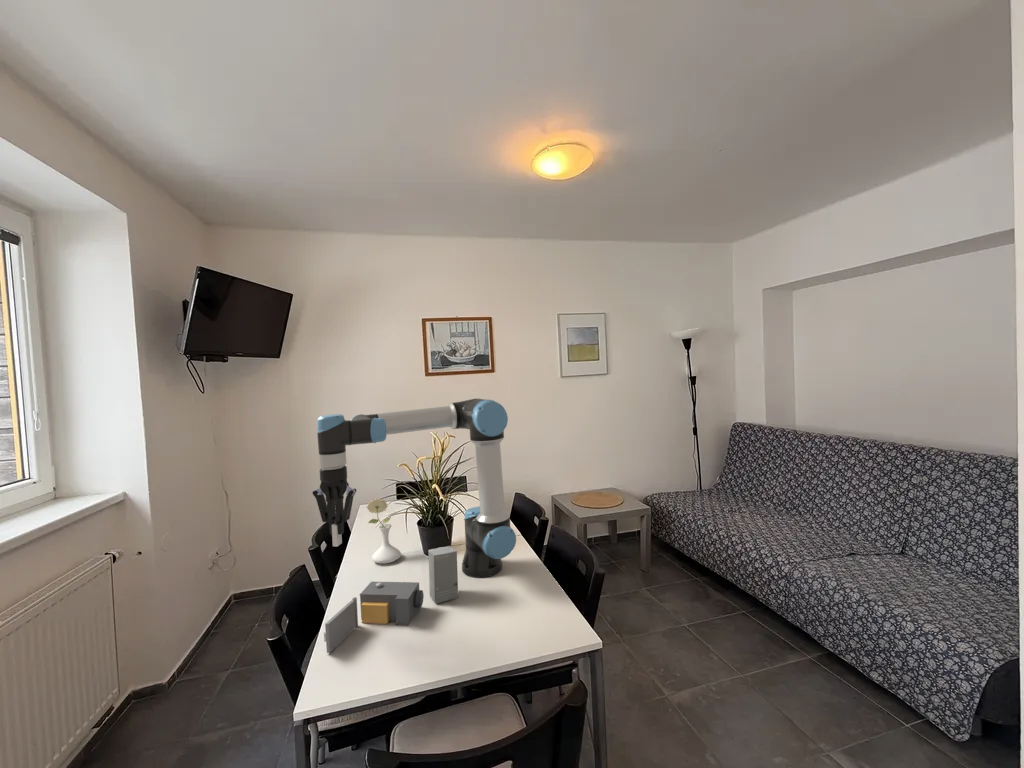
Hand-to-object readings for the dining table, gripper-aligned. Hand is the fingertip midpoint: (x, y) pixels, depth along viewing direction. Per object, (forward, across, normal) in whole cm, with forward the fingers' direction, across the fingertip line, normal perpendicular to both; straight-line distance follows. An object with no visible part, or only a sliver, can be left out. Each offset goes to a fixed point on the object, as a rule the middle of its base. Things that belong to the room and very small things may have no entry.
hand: (337, 544), depth 132 cm
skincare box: (+25, -27, -17) cm, 40 cm away
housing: (+24, -14, -4) cm, 28 cm away
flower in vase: (+25, +5, -44) cm, 51 cm away
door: (+24, -4, +8) cm, 26 cm away
